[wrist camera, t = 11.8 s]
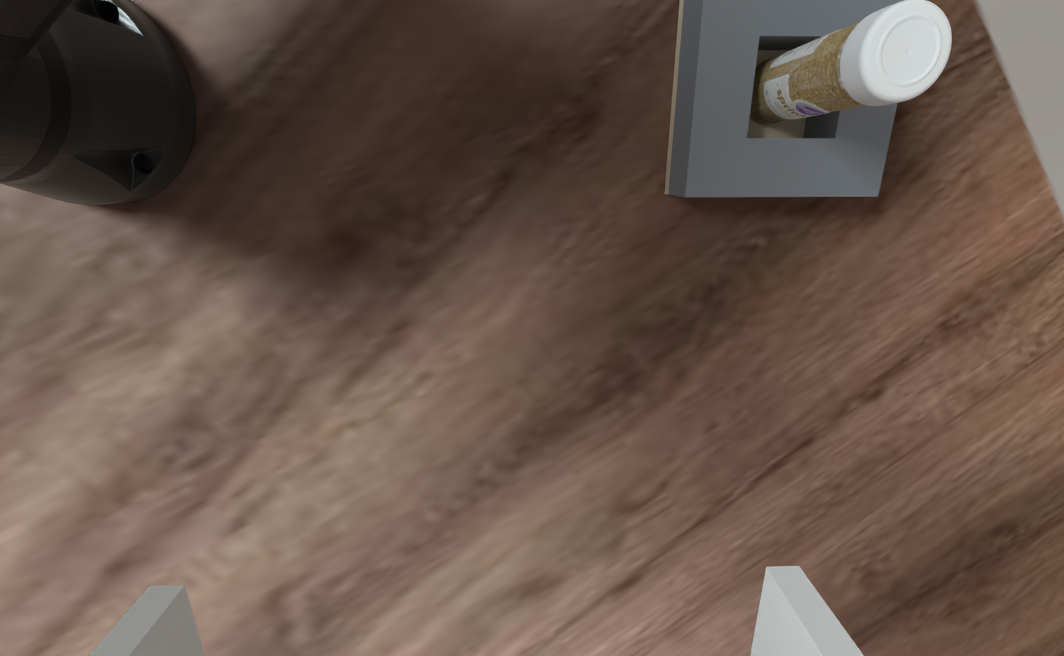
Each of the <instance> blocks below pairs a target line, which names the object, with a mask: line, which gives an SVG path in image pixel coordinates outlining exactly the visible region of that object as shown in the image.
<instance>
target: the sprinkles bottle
mask: <svg viewBox="0 0 1064 656" xmlns="http://www.w3.org/2000/svg"><path fill="white" fill-rule="evenodd" d="M951 43H952V35H951V28H950V24H949V21H948V19H947V17H946V15H945V14H944V12H943V11H942V10H941V9H940V8H939V7H938V6H936V5H935V4H933V3H932V2H929V1H926V0H904V1H901V2H898V3H895V4H893V5H890V6H887V7H885V8H882V9H880V10H878V11H876V12H874V13H872V14H870V15H868V16H867V17H865V18H864V19H863V20H862V21H860V22H859V23H857V24H855V25H852V26H850V27H847V28H844V29H841V30H837V31H835V32H832V33H830V34H828V35H825V36H823V37H820V38H818V39H816V40H813V41H811V42H809V43H806V44H804V45H802V46H799V47H797V48H795V49H793V50H790V51H788V52H786V53H784V54H782V55H781V56H779V57H777V58H771V59H768V60H765V61H764V62H762V63H760V64H758V65H757V66H756V69H755V77H754V85H753V93H752V101H751V109H750V117H751V118H752V119H753V120H755V121H756V122H758V123H760V124H767V125H769V124H775V123H779V122H781V121H784V120H788V119H791V120H793V119H800V118H805V117H811V116H816V115H821V114H826V113H829V112H832V111H838V110H843V109H848V108H853V107H857V106H862V105H867V106H883V105H889V104H894V103H899V102H903V101H907V100H909V99H912V98H914V97H916V96H918V95H920V94H921V93H923V92H924V91H925V90H927V89H928V88H929V87H930V86H931V85H932V84H933V83H934V82H935V81H936V80H937V78H938V77H939V75H940V74H941V73H942V71H943V69H944V67H945V65H946V63H947V61H948V58H949V54H950V50H951Z"/></svg>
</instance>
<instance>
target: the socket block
mask: <svg viewBox="0 0 1064 656" xmlns="http://www.w3.org/2000/svg"><path fill="white" fill-rule="evenodd" d="M901 1H904V0H680V3H679V15H678V28H677V41H676V54H675V66H674V79H673V92H672V105H671V117H670V130H669V143H668V156H667V168H666V181H665V194H668V195H674V196H680V197H878V195H879V190H880V185H881V180H882V176H883V171H884V166H885V161H886V156H887V152H888V147H889V142H890V137H891V132H892V127H893V123H894V118H895V113H896V108H897V103H894V104H889V105H883V106H867V105H862V106H857V107H853V108H848V109H843V110H838V111H832V112H829V113H826V114H821V115H816V116H811V117H805V118H800V119H793V120H791V119H788V120H784V121H781V122H779V123H775V124H769V125H767V124H760V123H758V122H756V121H755V120H753V119H752V118H751V117H750V109H751V101H752V93H753V85H754V77H755V69H756V66H757V65H758V64H760V63H762V62H764V61H765V60H768V59H771V58H777V57H779V56H781V55H782V54H784V53H786V52H788V51H790V50H793V49H795V48H797V47H799V46H802V45H804V44H806V43H809V42H811V41H813V40H816V39H818V38H820V37H823V36H825V35H828V34H830V33H832V32H835V31H837V30H841V29H844V28H847V27H850V26H852V25H855V24H857V23H859V22H860V21H862V20H863V19H864V18H865V17H867V16H868V15H870V14H872V13H874V12H876V11H878V10H880V9H882V8H885V7H887V6H890V5H893V4H895V3H898V2H901Z"/></svg>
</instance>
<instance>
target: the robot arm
mask: <svg viewBox="0 0 1064 656" xmlns="http://www.w3.org/2000/svg"><path fill="white" fill-rule="evenodd" d="M194 131H195V108H194V101H193V95H192V91H191V87H190V83H189V80H188V77H187V75H186V72H185V70H184V67H183V65H182V63H181V61H180V59H179V57H178V55H177V53H176V52H175V50H174V48H173V47H172V45H171V44H170V42H169V41H168V39H167V38H166V36H165V35H164V34H163V33H162V31H161V30H160V29H159V28H158V27H157V25H156V24H155V23H154V22H153V21H152V20H151V19H150V18H149V17H148V16H147V15H146V14H145V13H144V12H143V11H142V10H141V9H139V8H138V7H137V6H136V5H134V4H133V3H132V2H130V1H129V0H0V184H4V185H7V186H11V187H14V188H18V189H21V190H25V191H28V192H32V193H35V194H39V195H42V196H45V197H49V198H52V199H56V200H60V201H64V202H69V203H75V204H84V205H106V204H118V203H127V202H133V201H137V200H140V199H143V198H146V197H149V196H151V195H153V194H155V193H156V192H158V191H160V190H161V189H163V188H164V187H165V186H167V185H168V184H169V183H170V182H171V181H172V180H173V179H174V178H175V177H176V175H177V174H178V173H179V172H180V170H181V169H182V167H183V165H184V164H185V162H186V160H187V157H188V155H189V153H190V150H191V146H192V142H193V138H194ZM89 656H204V652H203V649H202V645H201V642H200V638H199V634H198V631H197V627H196V624H195V620H194V616H193V613H192V609H191V606H190V602H189V599H188V595H187V591H186V588H185V585H172V586H149V587H148V588H147V589H146V591H145V592H144V593H143V594H142V595H141V596H140V597H139V599H138V600H137V601H136V602H135V603H134V604H133V606H132V607H131V608H130V609H129V610H128V611H127V612H126V614H125V615H124V616H123V617H122V618H121V619H120V620H119V622H118V623H117V624H116V625H115V626H114V627H113V628H112V630H111V631H110V632H109V633H108V634H107V635H106V637H105V638H104V639H103V640H102V641H101V642H100V643H99V645H98V646H97V647H96V648H95V649H94V650H93V651H92V653H91V654H90V655H89ZM750 656H864V655H863V654H862V653H861V651H860V650H859V648H858V647H857V646H856V644H855V643H854V642H853V640H852V639H851V637H850V636H849V635H848V633H847V632H846V630H845V629H844V628H843V626H842V625H841V624H840V622H839V621H838V619H837V618H836V617H835V615H834V614H833V612H832V611H831V610H830V608H829V607H828V606H827V604H826V603H825V601H824V600H823V599H822V597H821V596H820V594H819V593H818V592H817V590H816V589H815V588H814V586H813V585H812V583H811V582H810V581H809V579H808V578H807V576H806V575H805V574H804V572H803V571H802V570H801V568H800V567H799V566H778V567H766V572H765V577H764V583H763V588H762V594H761V599H760V605H759V610H758V616H757V621H756V627H755V632H754V638H753V644H752V649H751V655H750Z"/></svg>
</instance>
